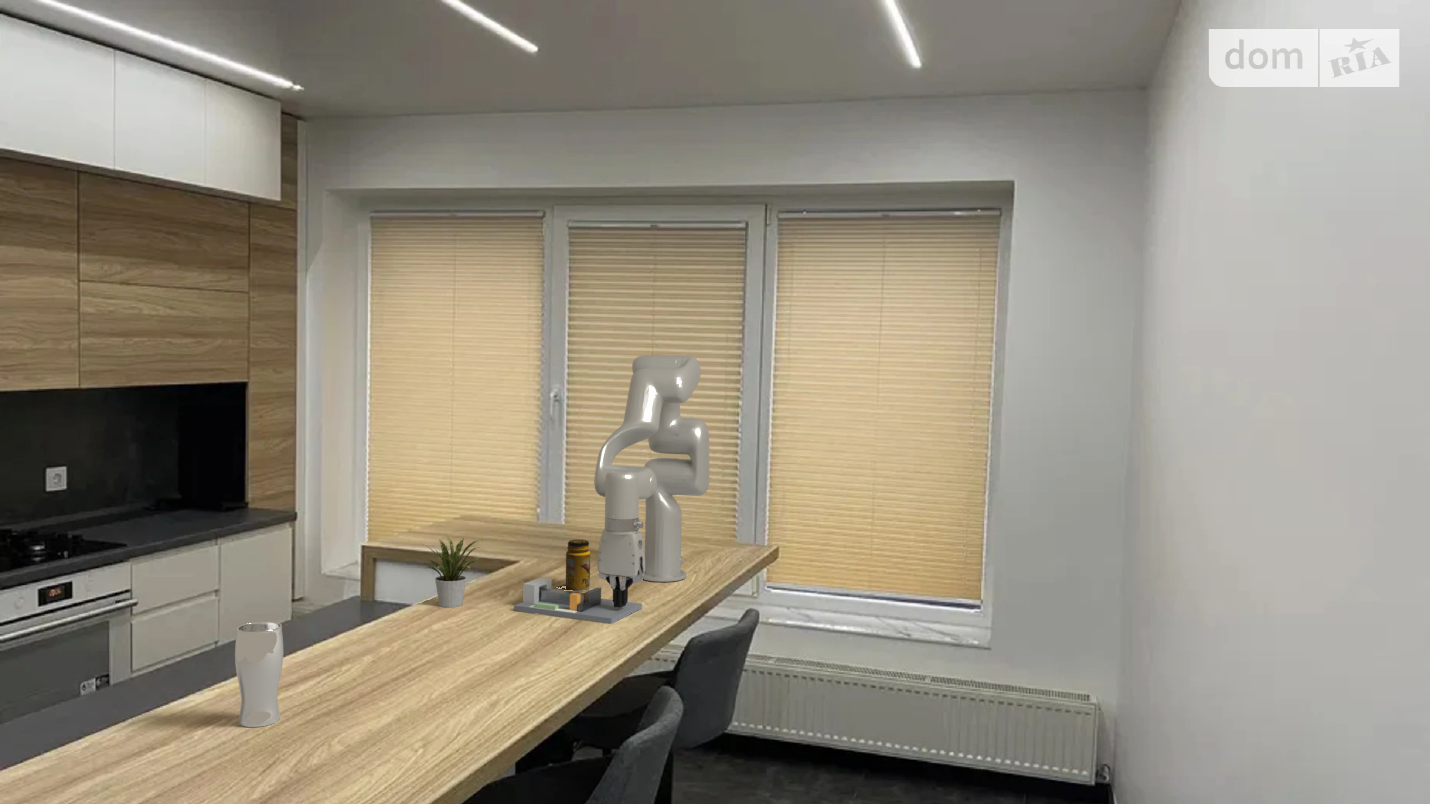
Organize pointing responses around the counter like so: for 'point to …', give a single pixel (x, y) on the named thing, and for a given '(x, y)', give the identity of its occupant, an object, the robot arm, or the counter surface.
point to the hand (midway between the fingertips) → (620, 605)
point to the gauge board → (597, 613)
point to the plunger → (563, 597)
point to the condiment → (577, 566)
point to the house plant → (451, 574)
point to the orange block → (574, 601)
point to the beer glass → (259, 672)
